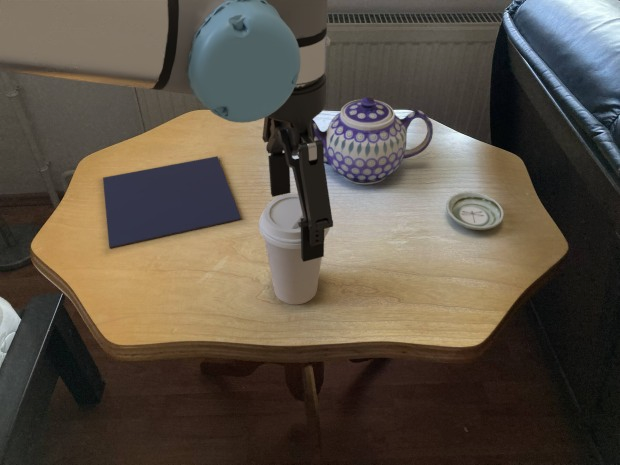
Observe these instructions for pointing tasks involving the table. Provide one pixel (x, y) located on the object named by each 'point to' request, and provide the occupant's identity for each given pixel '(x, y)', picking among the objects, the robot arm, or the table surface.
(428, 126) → the teapot
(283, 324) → the table surface
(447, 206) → the saucer
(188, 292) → the table surface
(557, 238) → the table surface
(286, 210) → the coffee cup
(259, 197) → the table surface
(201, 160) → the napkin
